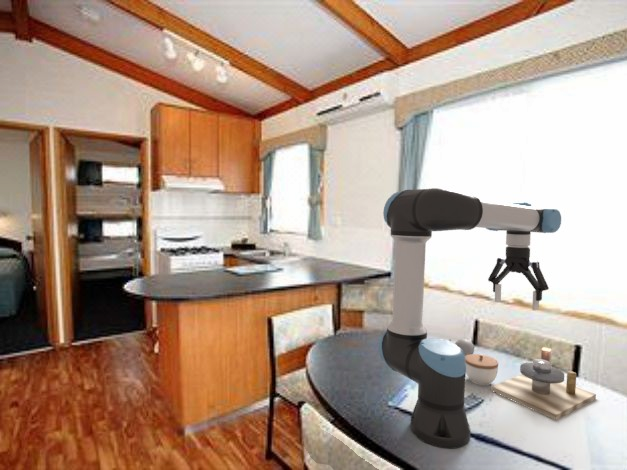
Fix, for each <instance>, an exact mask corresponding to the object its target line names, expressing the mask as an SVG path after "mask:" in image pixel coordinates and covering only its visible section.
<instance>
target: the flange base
mask: <svg viewBox="0 0 627 470" xmlns="http://www.w3.org/2000/svg"><path fill="white" fill-rule="evenodd" d="M491 390H492V391H491ZM490 391H491V392H493V391H494V392H493V393H495V392H496V393H495V394H497V393H498V394H497V395H499V394H501V395H503V396H502V397H504V396H505V397H504V398H506V397H507V398H506V399H508V398H509V399H508V400H510V399H512V400H511V401H513V400H514V401H513V402H515V401H516V402H515V403H517V402H518V403H517V404H519V403H520V404H519V405H521V404H523V405H522V406H524V405H525V406H524V407H526V406H527V407H526V408H528V407H529V409H530V408H532V409H531V410H533V409H534V410H533V411H535V412H537V411H538V412H537V413H539V412H540V413H539V414H541V415H543V416H547V417H549V418H550V419H553V420H554V421H557V420H559V419H560V418H563V417H564V416H567V415H569V414H570V413H572V412H573V411H575V410H577V409H579V408H581V407H583V406H585V405H587V404H589V403H591V402H592V401H594V400H596V399H597V397H596V396H597V394H596V393H593V392H591V391H588V390H585V389H583V388H579V387H577V373H576V371H575V372H574V371H572V370H568V371H567V372H566V382H564V381H563V382H561V383H544V382H539V381H536V380H533V379H530V378H528V377H526V376H524V375H523V374H522V373H521V374H520V375H519V374H518V375H517V376H514V377H512V378H509V379H507V380H504V381H502V382H499V383H497V384H493V385H491V387H490ZM501 395H500V396H501Z"/></svg>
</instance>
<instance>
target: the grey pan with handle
mask: <svg viewBox="0 0 627 470" xmlns="http://www.w3.org/2000/svg"><path fill="white" fill-rule="evenodd" d="M540 357H541V358H535V359H532V362H524V363H522V364H520V368H519V372H520V373H521V375H522V374H523V375H524V376H526V377H528V378H530V379H533V380H536V381H539V382H544V383H561V382H564V381H565V373H564V372H563V370H560V369H559V368H557V367H554V366H552V360H551V359H552V348H548V347H542V348H541V354H540Z"/></svg>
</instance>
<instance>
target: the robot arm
mask: <svg viewBox="0 0 627 470" xmlns="http://www.w3.org/2000/svg"><path fill="white" fill-rule="evenodd" d="M382 213H383V219H384V222H385V223H386V225H387V226H388V227H389V228H390V236H391V238H392V239H393V241H394V242H395V244H394V246H395V247H394V266H393V267H394V268H393V269H394V273H393V274H394V275H393V295H392V297H393V298H392V321H391V322H390V323H388V324H387V325H386V330H385V331H383V332H382V336H380V338H379V340H378V345H377V347H378V355H379V357H380V360H381V361H382V362H383V364H385V365H386V366H387V367H389V368H390V369H391V370H393V371H395V372H396V373H398V374H400V375H403V376H404V377H406V378H408V379H410V381H413V382H415V383H416V384H417V385H418V386H417V400H416V403H415V405H414V408H413V410H412V413H411V416H410V425H409V426H410V430H411V432H412V435H414V436H415V437H416V438H417V439H419V440H420V441H422V442H424V443H426V444H428V445H431V446H433V447H439V448H443V449H457V448H462V447H465V446H466V445H467V444H469V442H470V441H471V440H470V439H471V425H470V423H469V420H468V417H467V412H466V408H465V395H466V394H465V393H466V392H465V390H466V375H467V374H466V363H465V354H464V352H463V350H462V349H461V348H460V347H459V346H457V345H456V344H454V343H452V342H450V340H447V339H441V338H438V337H428V329H427V327H426V326H425V325H424V324H423V315H424V314H423V312H424V311H423V310H424V292H425V291H424V290H425V289H424V288H425V270H426V269H425V265H426V245H427V242H429V240H430V239H431V238H432V235H433V232H443V231H446V232H447V231H458V230H461V231H469V230H473V229H475V228H482V229H486V230H487V231H493V232H495V231H496V232H498V231H506V234H505V236H506V237H505V245H506V247H505V258H504V257H498V258H497V259H496V264H495V266H494V268H493V269H492V271H491V273H490V275H489V277H488V278H487V280H488V282H491V283H492V284H493V285H492V292H493V293H494V302H495V303H498V302H501V301H502V283H501V282H502V280H503V279H504V278H505V277H507V275H508V274H509V273H510V272H511V273H518V274H522V275H523V276H524V277H525V278H526V279H527V281H528V282H529V283H530V285H531V286H532V287H533V289H534V290H533V291H532V306H531V307H532V308H531V309H532V311H538V310H539V309H540V308H539V307H540V302H541V301H542V300H543V292H544V291H547V290H548V291H549V289H550V288H549V286H548V283H547V281H546V279H545V276H544V274H543V272H542V270H541V268H540V262H539V261H530V257H531V248H530V247H529V246H531V233H539V234H540V233H544V234H551V233H552V234H553V233H556V232H557V231H558V230H559V229H560V228H561V225H562V215H561V212H560V211H559V210H558V208H555V207H536V206H535V207H534V206H532V204H531V203H530V202H526V201H525V202H523V201H521V202H519V201H518V202H515V201H514V202H508V203H507V202H506V203H505V202H499V201H492V200H491V201H489V200H486V199H485V200H484V199H480V197H478V196H477V195H474V194H470V193H464V192H459V191H454V190H450V189H444V188H436V187H435V188H422V189H420V188H419V189H418V188H417V189H405V190H400V191H397V192H395V193H393V194H391V195H390V197H388V199H387V200H386V202H385V204H384V208H383V212H382ZM504 264H505V265H506V266H505V267H504ZM503 267H504V268H503ZM502 268H503V270H501V269H502ZM530 268H531V269H532V271H533V274H534V275H533V274H532V271H531V270H530ZM500 271H501V272H500Z"/></svg>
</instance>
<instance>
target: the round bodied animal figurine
mask: <svg viewBox="0 0 627 470" xmlns="http://www.w3.org/2000/svg"><path fill="white" fill-rule="evenodd" d="M448 341H450V342H452V343H454V344H456V345H457V346H459V347H460V348H461V349H462V350H463V352H464V354H465V356H466V355H469V354H475V353H474V352H475V345H474V344H473V342H472V341H471V340H469V339H468V338H459V339H458V340H457V341H456V342H455V341H452V339H451V338H449V340H448Z"/></svg>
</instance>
